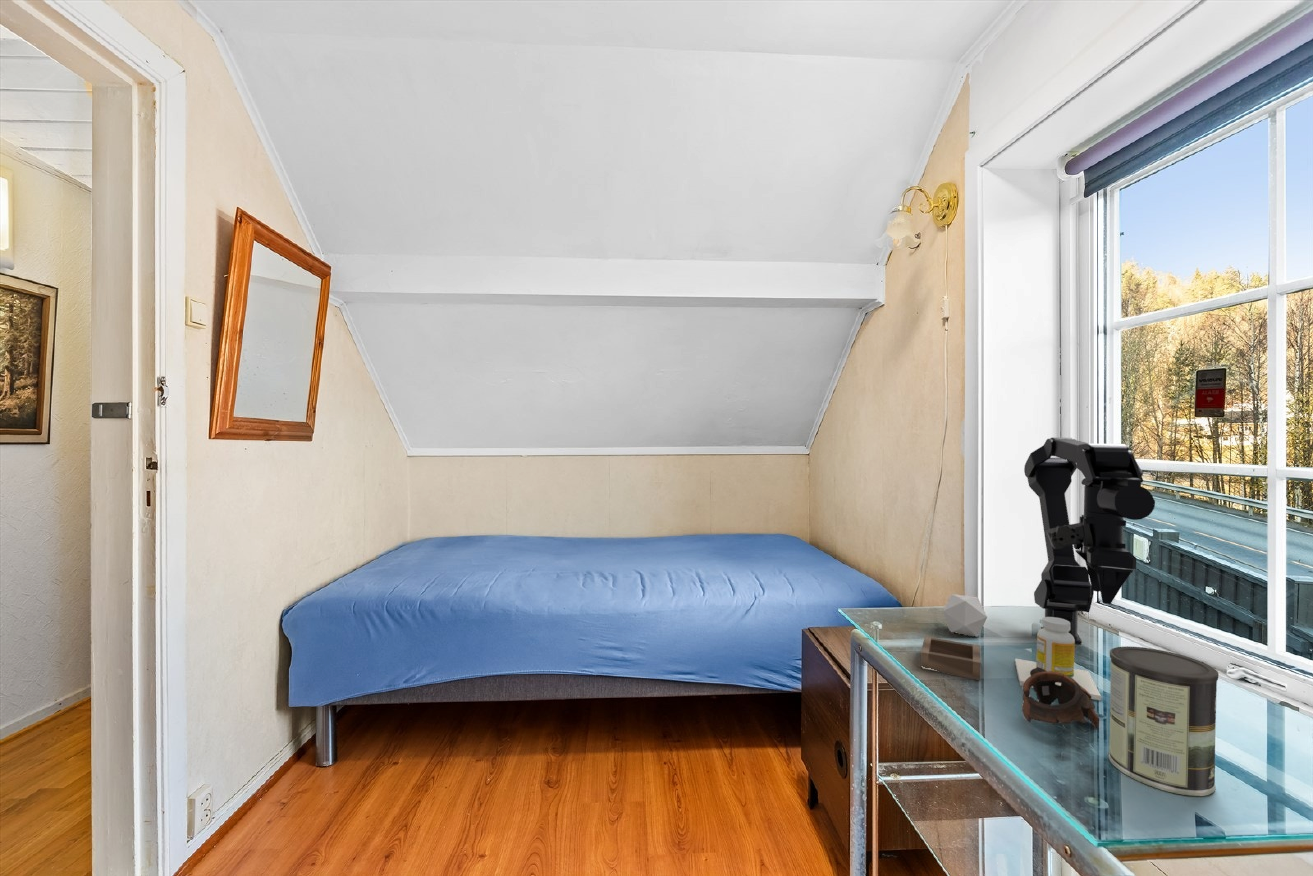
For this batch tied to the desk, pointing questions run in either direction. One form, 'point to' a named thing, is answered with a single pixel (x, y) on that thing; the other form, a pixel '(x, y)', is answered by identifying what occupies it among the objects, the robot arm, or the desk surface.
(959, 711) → the desk surface
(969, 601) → the die
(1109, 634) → the desk surface
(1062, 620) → the supplement bottle
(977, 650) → the walnut holder
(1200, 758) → the coffee can
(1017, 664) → the off-white coaster
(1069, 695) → the broken brown clay pot
